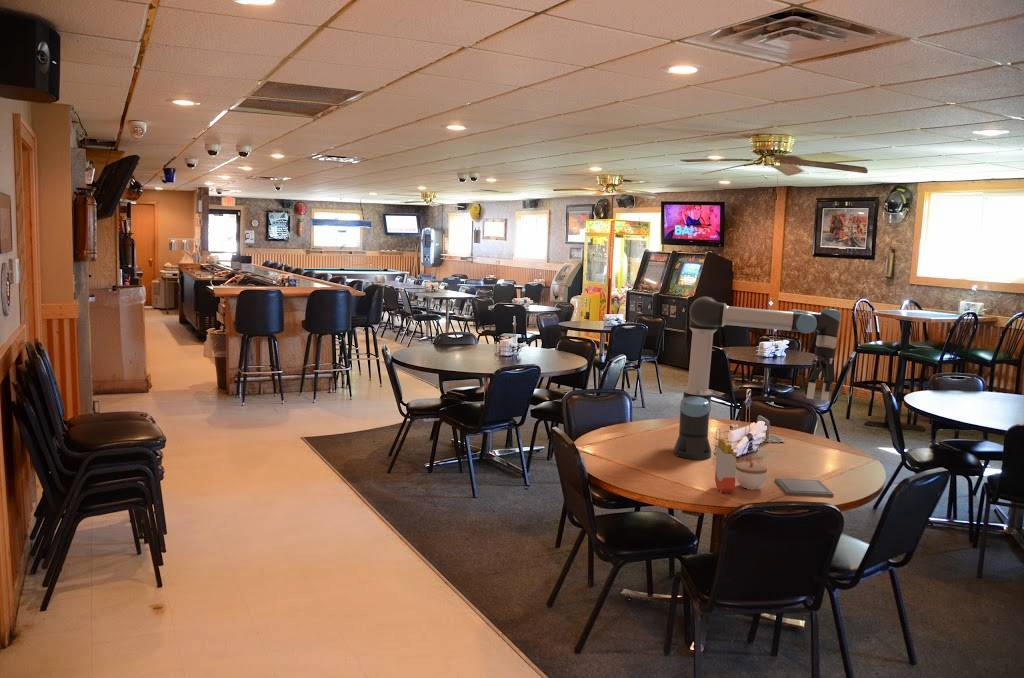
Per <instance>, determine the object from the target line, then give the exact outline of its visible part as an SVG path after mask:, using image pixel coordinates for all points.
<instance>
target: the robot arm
mask: <svg viewBox="0 0 1024 678" xmlns="http://www.w3.org/2000/svg"><path fill="white" fill-rule="evenodd" d="M688 312H689V327H688V328H689V329H690V331H691V332H692V335H691V344H690V345H691V346H690V357H689V358H690V359H689V368H688V369H689V370H688V380H687V387H686V388H684V390H683V394H682V395H683V397H682V399H681V401H680V404H679V426H678V436H677V437H678V438H677V440H676V442H675V445H674V447H673V454H674V453H675V454H676V455H678V456H681V457H680V458H682V457H685V458H684V459H686V458H689V460H707V458H708V459H710V458H711V457H712V449H711V445H710V444H711V443H710V440H709V424H710V422H709V420H710V413H711V410H712V406H711V403H712V391H711V390H709V387H710V386H709V385H710V375H711V374H710V373H711V363H712V354H713V353H712V351H713V342H714V341H713V340H714V334H715V333H716V332H717V331H718V327H721V328H723V327H724V326H734V327H735V326H736V327H737V326H738V327H746V328H747V327H748V328H758V329H769V330H778V331H787V332H788V331H790V332H797V333H798V332H799V333H802V334H810V333H813V332H817V335H816V340H815V341H816V342H815V345H816V346H815V347H814V356H815V357H817V359H816V358H813V360H812V363H811V366H810V368H809V372H808V373H807V377H806V381H807V383H808V385H807V391H806V397H805V398H806V399H810V400H814V398H815V392H816V391H815V390H816V386H817V380H818V378H819V375H820V374H821V373H822V375H823V382H822V383H823V384H822V389H821V396H820V400H821V401H829V400H830V399H829V398H830V393H831V385H832V384H834V383H835V367H834V364H835V359H834V358H835V354H836V349H835V348H836V347H837V344H838V335H839V329H840V324H841V312H840V310H838V309H833V308H822V309H821V311H820V312H814V311H808V310H803V309H802V310H801V309H790V311H786V310H785V311H784V310H774V309H764V308H763V309H761V308H752V307H741V306H734V305H733V306H732V305H731V306H729V305H727V303H725V302H718V301H717V300H716V299H714V298H713V297H710V296H706V295H705V296H699V297H698V298H696V299H695V300H694V301H693V302H692V304H691V305H690V308H689V311H688ZM675 454H674V455H675ZM676 455H675V456H676ZM678 456H677V457H678Z"/></svg>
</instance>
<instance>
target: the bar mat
mask: <svg viewBox="0 0 1024 678" xmlns="http://www.w3.org/2000/svg"><path fill="white" fill-rule="evenodd" d="M774 482H775V484H776V485H777V486H778V485H779V486H780V487H781V488H780V487H779V486H778V487H779V488H780V490H782V491H783V492H784V493H785V495H786V496H801V497H802V496H808V497H826V498H834V493H833V492H832V491H831V490H830V489H829V488H828V487H827V486H826V485H825V484H823V482H821V480H819V479H800V478H798V479H797V478H796V479H795V478H778V477H777V478H774Z"/></svg>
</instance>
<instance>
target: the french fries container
mask: <svg viewBox="0 0 1024 678" xmlns="http://www.w3.org/2000/svg"><path fill="white" fill-rule="evenodd" d="M717 439H718V443H717V445H716V457H715V470H714V471H715V473H714V481H715V488H716V487H717V488H718V489H719V490H720V492H733V493H734V491H735V489H736V464H737V456H738V452H736V451H734V449H733V448H732V447H733V446H732V444H728V445H727V444H726V441H725V440H724V439H723V438H720V437H719V438H717ZM717 488H716V489H717ZM718 489H717V490H718ZM719 490H718V491H719Z"/></svg>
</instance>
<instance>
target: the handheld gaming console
mask: <svg viewBox="0 0 1024 678" xmlns="http://www.w3.org/2000/svg"><path fill="white" fill-rule="evenodd" d="M756 421H764V422H765V424H766V426H767V430H766V439H765V442H785V443H786V440H784V439H783V438H782V437H780V436H779V435H776V434H774V435H773V436H772V435H770V436H769V434H771V433H770V428H771V427H770V426H771V423H770V420H768V418H765V417H764V416H762V415H758V416H757V419H756ZM765 442H764V443H765Z"/></svg>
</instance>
